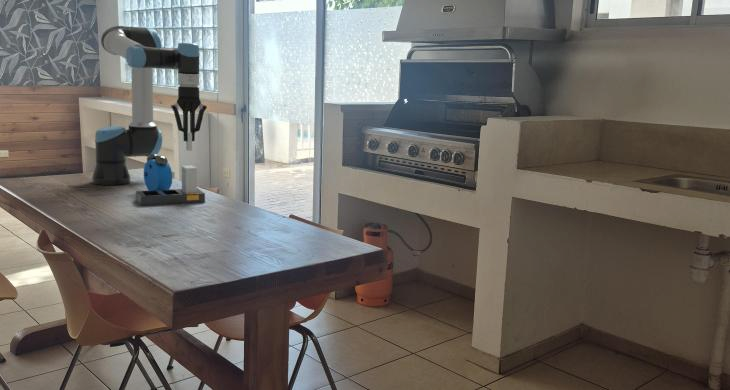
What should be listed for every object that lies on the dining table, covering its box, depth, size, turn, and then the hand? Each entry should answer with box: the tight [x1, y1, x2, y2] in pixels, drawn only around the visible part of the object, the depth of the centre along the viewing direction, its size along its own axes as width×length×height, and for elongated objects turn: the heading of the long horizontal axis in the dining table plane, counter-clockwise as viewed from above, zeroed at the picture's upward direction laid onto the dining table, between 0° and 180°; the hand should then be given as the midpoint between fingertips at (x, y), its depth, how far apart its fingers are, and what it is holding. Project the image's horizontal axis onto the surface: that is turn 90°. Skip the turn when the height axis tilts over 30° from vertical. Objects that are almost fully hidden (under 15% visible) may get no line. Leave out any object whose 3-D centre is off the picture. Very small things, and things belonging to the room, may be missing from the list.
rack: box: [135, 187, 206, 207], centre depth 247 cm, size 11×23×4 cm, turn 118°
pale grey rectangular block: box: [181, 164, 198, 194], centre depth 250 cm, size 7×4×12 cm, turn 28°
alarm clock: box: [143, 154, 173, 191], centre depth 263 cm, size 13×6×15 cm, turn 44°
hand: (189, 150), depth 248 cm, fingers closed
